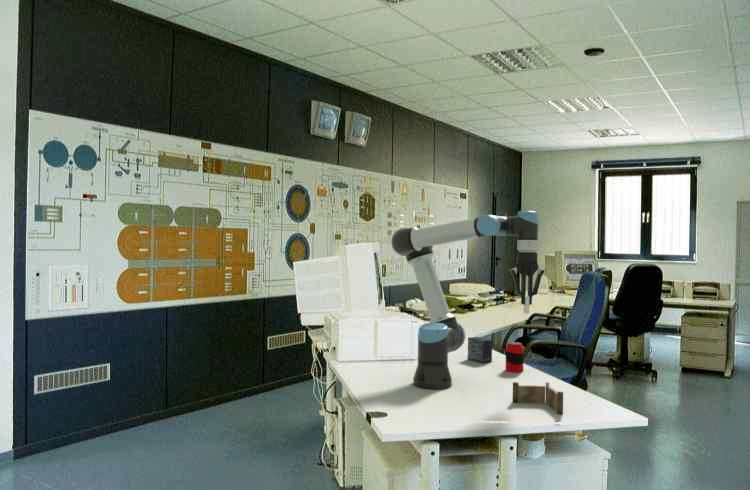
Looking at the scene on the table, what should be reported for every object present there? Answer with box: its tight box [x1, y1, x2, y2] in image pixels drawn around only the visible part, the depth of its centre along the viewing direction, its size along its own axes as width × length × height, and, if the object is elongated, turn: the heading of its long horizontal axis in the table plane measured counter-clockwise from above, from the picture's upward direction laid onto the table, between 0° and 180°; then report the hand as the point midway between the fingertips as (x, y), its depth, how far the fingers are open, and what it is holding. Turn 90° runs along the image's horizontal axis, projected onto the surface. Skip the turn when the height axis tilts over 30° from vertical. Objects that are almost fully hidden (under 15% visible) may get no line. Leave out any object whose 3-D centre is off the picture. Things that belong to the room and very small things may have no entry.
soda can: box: [505, 341, 525, 373], centre depth 242 cm, size 8×8×12 cm
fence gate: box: [544, 382, 564, 415], centre depth 186 cm, size 13×2×7 cm, turn 3°
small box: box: [467, 336, 493, 364], centre depth 262 cm, size 11×6×10 cm, turn 34°
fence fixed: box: [512, 381, 546, 404], centre depth 193 cm, size 11×2×7 cm, turn 89°
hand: (526, 313), depth 211 cm, fingers closed
